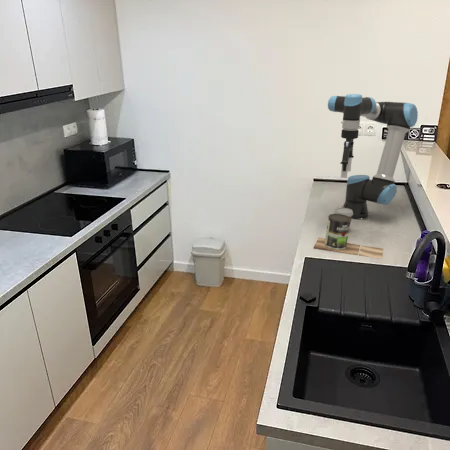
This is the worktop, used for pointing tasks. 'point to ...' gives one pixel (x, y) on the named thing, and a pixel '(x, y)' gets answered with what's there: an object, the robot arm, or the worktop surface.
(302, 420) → the worktop surface
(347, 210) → the disposable coffee cup
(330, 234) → the coffee can
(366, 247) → the laid plank
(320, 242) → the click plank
